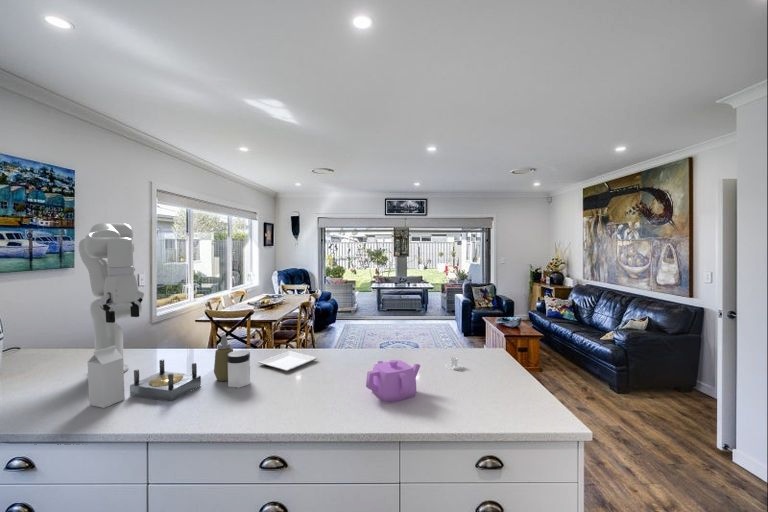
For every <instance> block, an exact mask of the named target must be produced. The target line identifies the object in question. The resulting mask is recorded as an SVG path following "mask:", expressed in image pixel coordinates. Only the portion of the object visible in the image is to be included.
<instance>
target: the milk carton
mask: <svg viewBox="0 0 768 512" xmlns="http://www.w3.org/2000/svg"><path fill="white" fill-rule="evenodd" d="M123 357H124V356H123ZM123 357H122V356H121V354H120V353H119V352H118V350H117V349H116V346H112V347H108V348H105V349H101V350H97V351H95V350H94V351H93V355H92V356H91V357H90V358H89V360H88V361H87V381H88V402H89V406H94V407H98V408H103V409H105V408H108V407H110V406H112V405H114V404H117V403H120V402H122V401H123V400H125V398H126V397H125V396H126V394H125V376H124V375H125V374H124V373H125V372H124V368H123Z"/></svg>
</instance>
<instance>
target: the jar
mask: <svg viewBox="0 0 768 512" xmlns="http://www.w3.org/2000/svg"><path fill="white" fill-rule="evenodd" d="M250 353H251V352H250V351H249V350H244V349H240V350H233V352H230V353H228V355H227V361H228V380H227V382H228V383H227V387H228V388H235V387H237V388H238V389H239V388H243V387H245V386H249V385H250V384H251V363H250V362H251V361H250V358H251V354H250Z"/></svg>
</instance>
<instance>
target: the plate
mask: <svg viewBox="0 0 768 512" xmlns="http://www.w3.org/2000/svg"><path fill="white" fill-rule="evenodd" d="M317 359H318V357H316V356H312V355H308V354H304V353H301V352H296V351H294V350H293V351H292V350H288V351H284V352H282V353H279V354H276V355H273V356H271V357H268V358H264V359H261V360H259V361H257V363H258V364H262V365H264V366H268V367H271V368H275V369H277V370H282V371H286V372H289V371H291V370H294V369H296V368H299V367H301V366H303V365H306V364H308V363H311V362H313V361H315V360H317Z"/></svg>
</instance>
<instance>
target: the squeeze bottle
mask: <svg viewBox="0 0 768 512" xmlns="http://www.w3.org/2000/svg"><path fill="white" fill-rule="evenodd" d="M233 351H234V349H233V348H232V347H231V342H228V339H227V336H226V334H222V335H221V340H220V342H219V343H218V344H217V349H215V353H214V355H215V356H214V365H213V366H214V367H213V373H214V376H215V378H216V380H217V381H219V382H226V381H227V382H228V361H227V355H228V353H230V352H233Z"/></svg>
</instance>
